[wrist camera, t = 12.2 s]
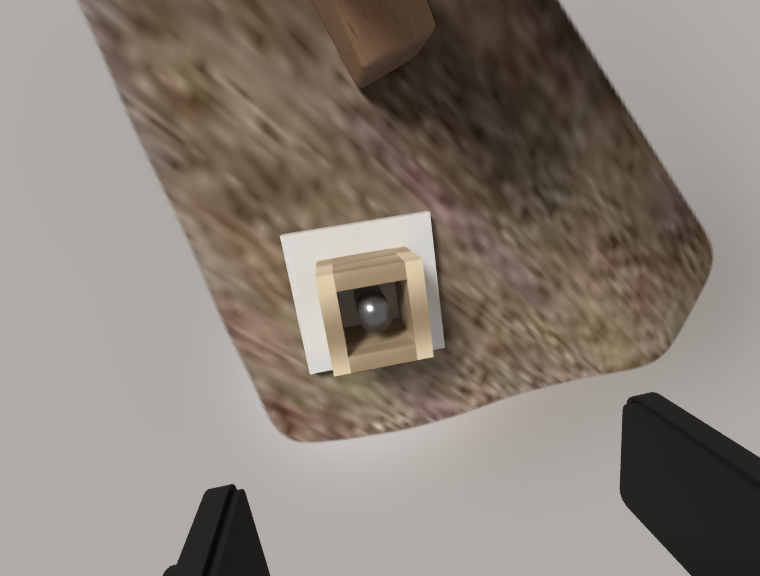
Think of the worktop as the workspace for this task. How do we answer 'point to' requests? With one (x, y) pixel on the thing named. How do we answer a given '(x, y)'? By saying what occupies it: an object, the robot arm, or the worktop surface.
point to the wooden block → (376, 33)
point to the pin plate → (351, 245)
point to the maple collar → (405, 333)
